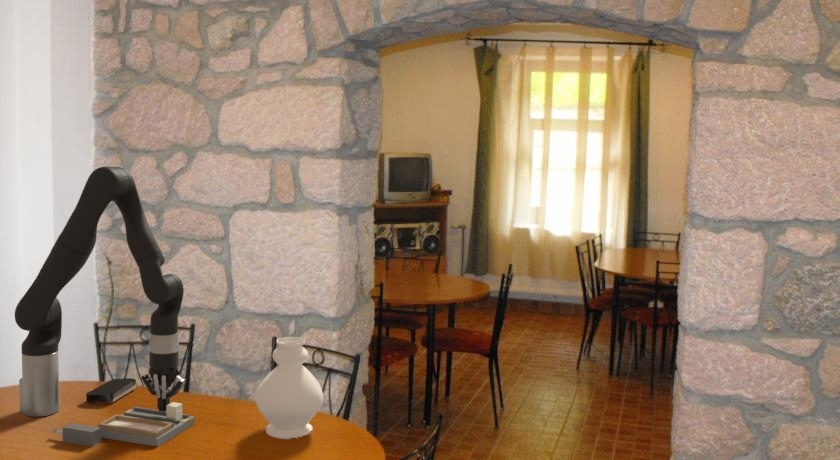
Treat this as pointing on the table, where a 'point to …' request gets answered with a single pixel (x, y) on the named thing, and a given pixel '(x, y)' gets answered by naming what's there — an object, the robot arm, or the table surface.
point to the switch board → (144, 426)
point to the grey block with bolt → (80, 434)
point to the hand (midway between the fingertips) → (163, 410)
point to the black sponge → (111, 391)
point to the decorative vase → (289, 392)
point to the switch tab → (174, 411)
